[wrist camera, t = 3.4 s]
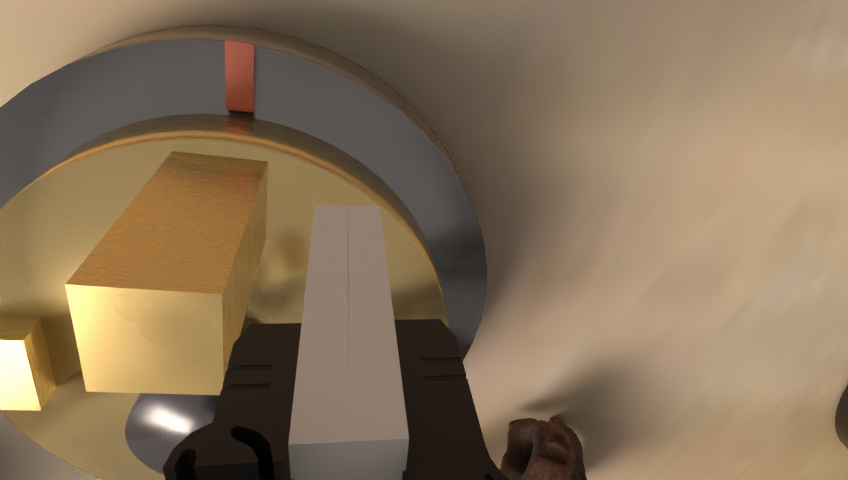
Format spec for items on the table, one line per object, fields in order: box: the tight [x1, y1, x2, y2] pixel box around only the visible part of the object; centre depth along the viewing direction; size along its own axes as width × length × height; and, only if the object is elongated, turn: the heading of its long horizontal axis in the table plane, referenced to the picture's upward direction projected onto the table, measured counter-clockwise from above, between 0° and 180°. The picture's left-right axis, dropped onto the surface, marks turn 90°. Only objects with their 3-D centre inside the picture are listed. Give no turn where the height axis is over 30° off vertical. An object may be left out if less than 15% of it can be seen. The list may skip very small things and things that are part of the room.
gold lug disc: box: [0, 113, 449, 480], centre depth 16 cm, size 15×15×9 cm
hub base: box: [0, 25, 487, 475], centre depth 18 cm, size 19×19×9 cm
